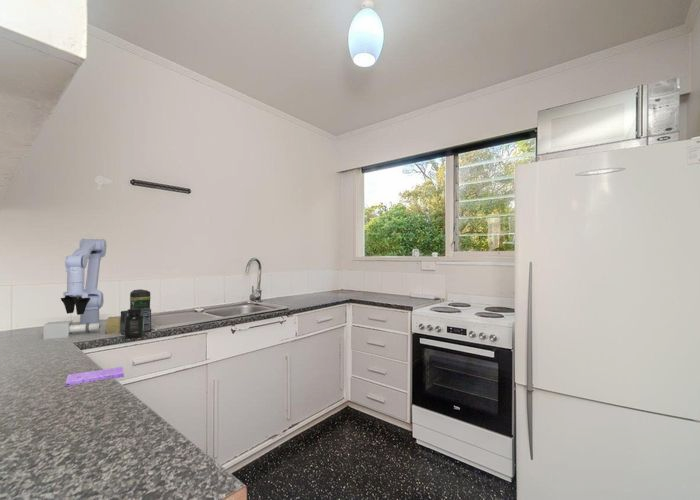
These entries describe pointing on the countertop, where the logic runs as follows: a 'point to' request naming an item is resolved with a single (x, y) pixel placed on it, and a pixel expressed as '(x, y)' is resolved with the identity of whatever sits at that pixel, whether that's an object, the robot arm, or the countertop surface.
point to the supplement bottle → (134, 323)
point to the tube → (84, 327)
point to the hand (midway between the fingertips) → (75, 313)
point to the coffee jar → (140, 299)
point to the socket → (113, 325)
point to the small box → (147, 320)
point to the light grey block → (57, 330)
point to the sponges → (94, 376)
